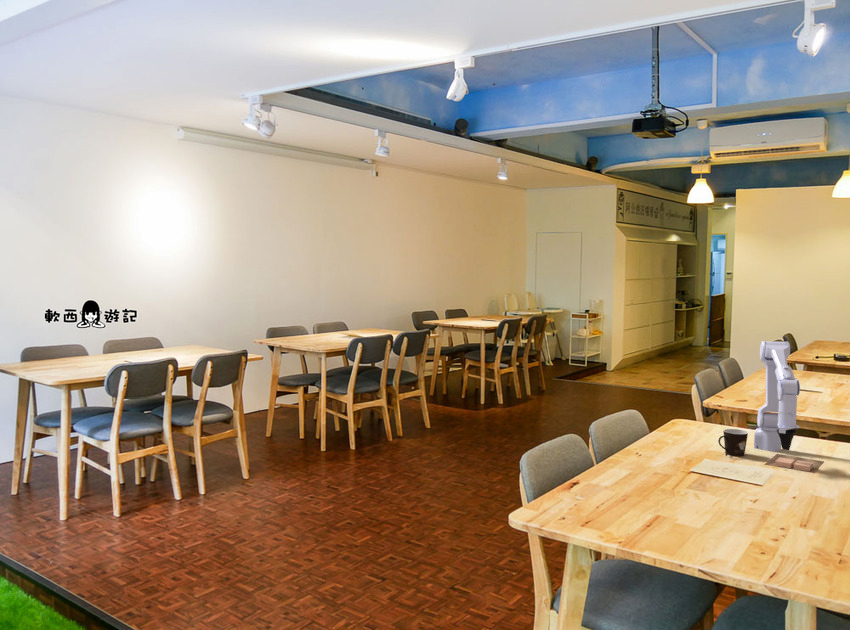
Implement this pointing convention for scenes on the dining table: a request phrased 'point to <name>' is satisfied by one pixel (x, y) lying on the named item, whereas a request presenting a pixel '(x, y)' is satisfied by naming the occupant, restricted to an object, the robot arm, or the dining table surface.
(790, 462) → the tile left
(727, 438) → the coffee mug
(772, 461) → the board
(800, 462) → the tile right
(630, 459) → the dining table surface
